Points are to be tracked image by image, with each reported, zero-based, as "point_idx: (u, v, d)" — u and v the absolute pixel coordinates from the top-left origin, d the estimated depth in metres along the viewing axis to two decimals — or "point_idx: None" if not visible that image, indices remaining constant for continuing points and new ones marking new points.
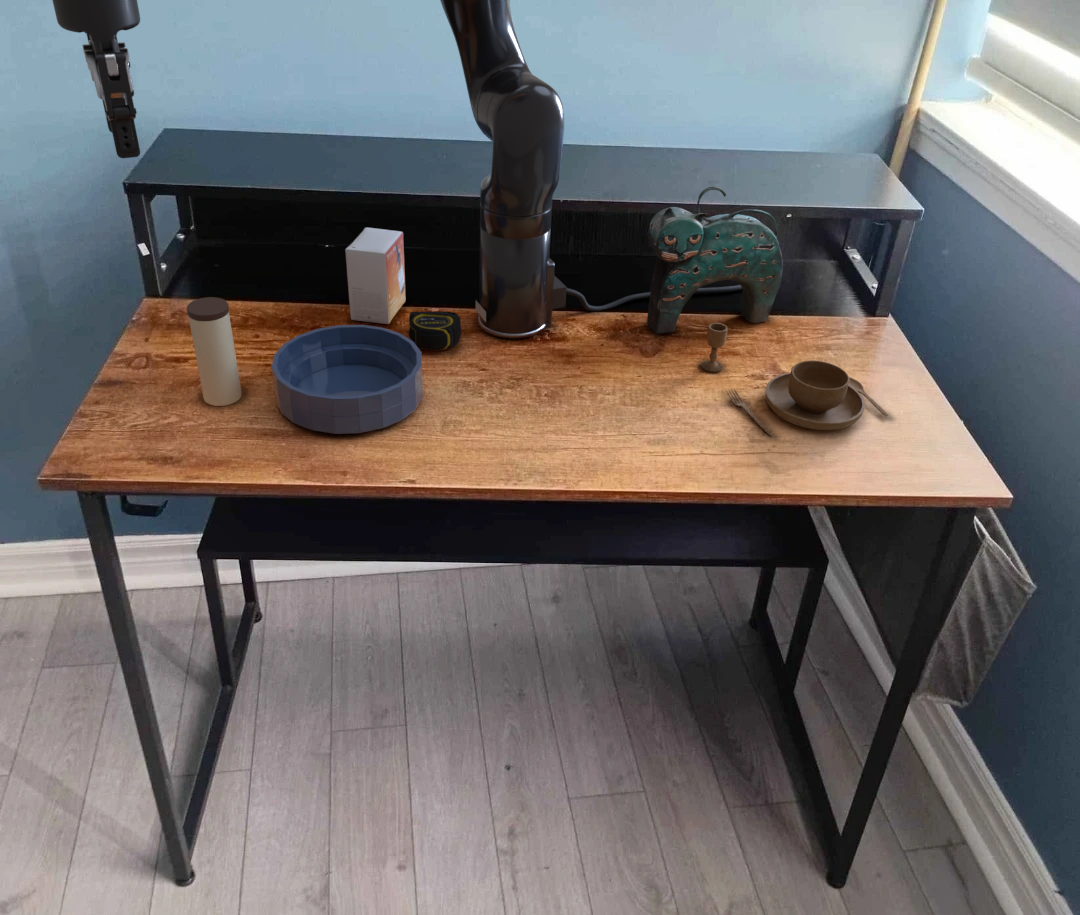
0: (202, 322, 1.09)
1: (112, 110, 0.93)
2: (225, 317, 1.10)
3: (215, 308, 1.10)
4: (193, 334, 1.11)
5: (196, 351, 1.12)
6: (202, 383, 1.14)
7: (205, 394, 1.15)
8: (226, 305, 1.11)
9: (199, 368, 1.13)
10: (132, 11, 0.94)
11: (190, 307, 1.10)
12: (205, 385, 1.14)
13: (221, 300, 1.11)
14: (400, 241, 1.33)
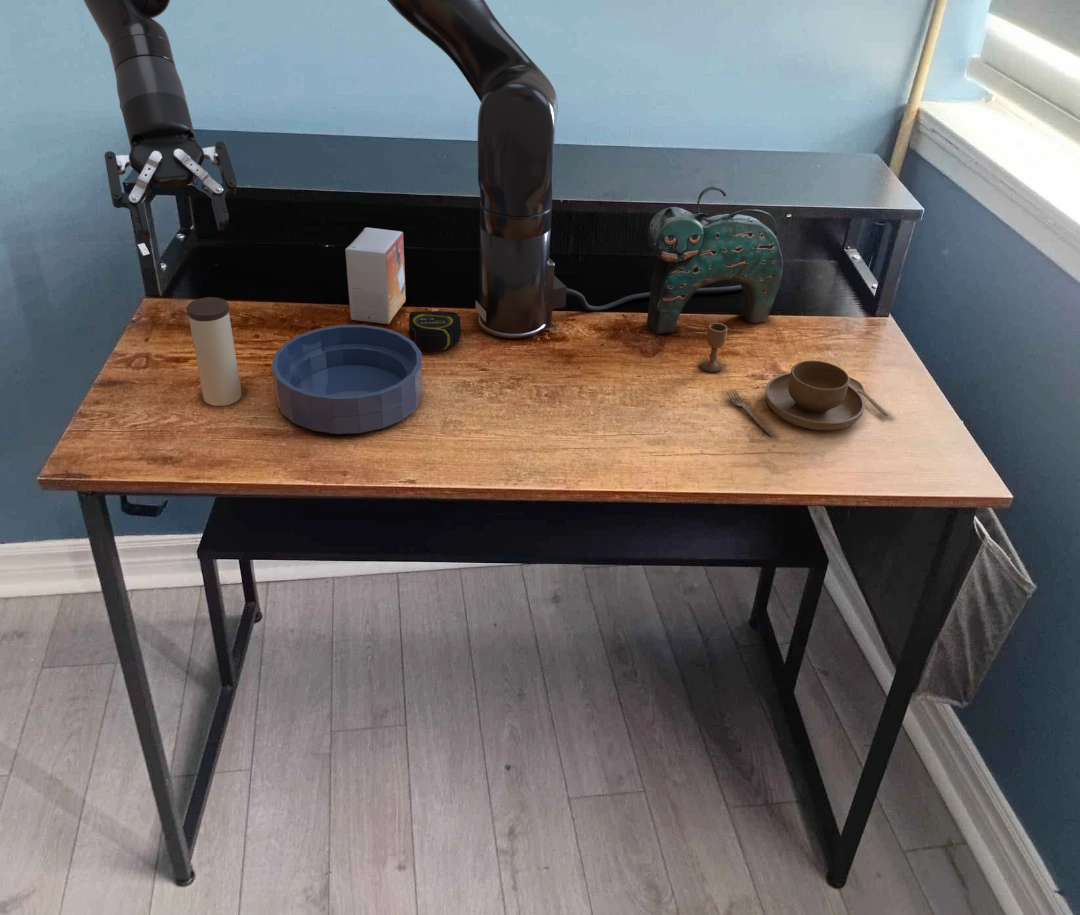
0: (202, 322, 1.09)
1: None
2: (225, 317, 1.10)
3: (215, 308, 1.10)
4: (193, 334, 1.11)
5: (196, 351, 1.12)
6: (202, 383, 1.14)
7: (205, 394, 1.15)
8: (226, 305, 1.11)
9: (199, 368, 1.13)
10: (139, 119, 1.14)
11: (190, 307, 1.10)
12: (205, 385, 1.14)
13: (221, 300, 1.11)
14: (400, 241, 1.33)
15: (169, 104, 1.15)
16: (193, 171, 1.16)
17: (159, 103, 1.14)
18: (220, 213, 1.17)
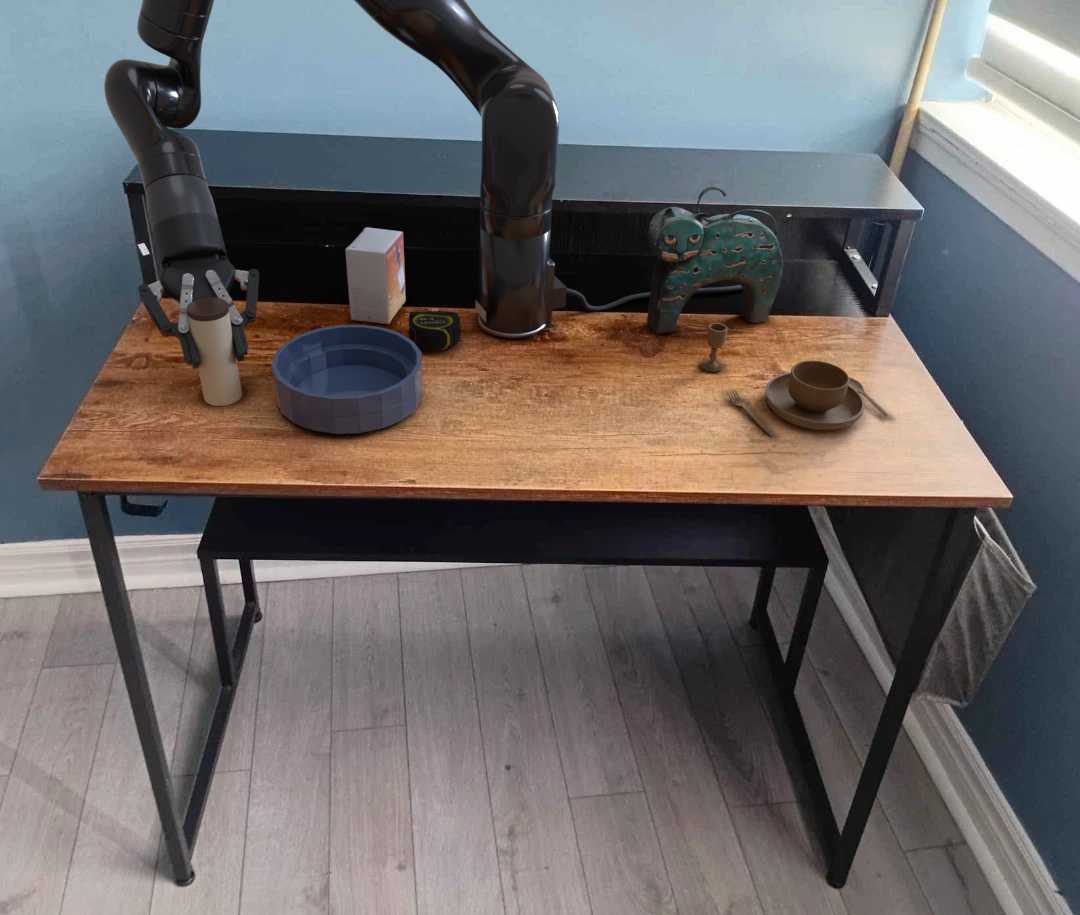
0: (202, 322, 1.09)
1: (160, 328, 1.12)
2: (225, 317, 1.10)
3: (215, 308, 1.10)
4: (193, 334, 1.11)
5: (197, 351, 1.12)
6: (202, 383, 1.14)
7: (205, 394, 1.15)
8: (226, 305, 1.10)
9: (199, 368, 1.13)
10: (171, 241, 1.10)
11: (190, 307, 1.10)
12: (205, 385, 1.14)
13: (221, 300, 1.11)
14: (400, 241, 1.33)
15: (201, 225, 1.11)
16: (218, 296, 1.12)
17: (191, 224, 1.11)
18: (239, 345, 1.13)
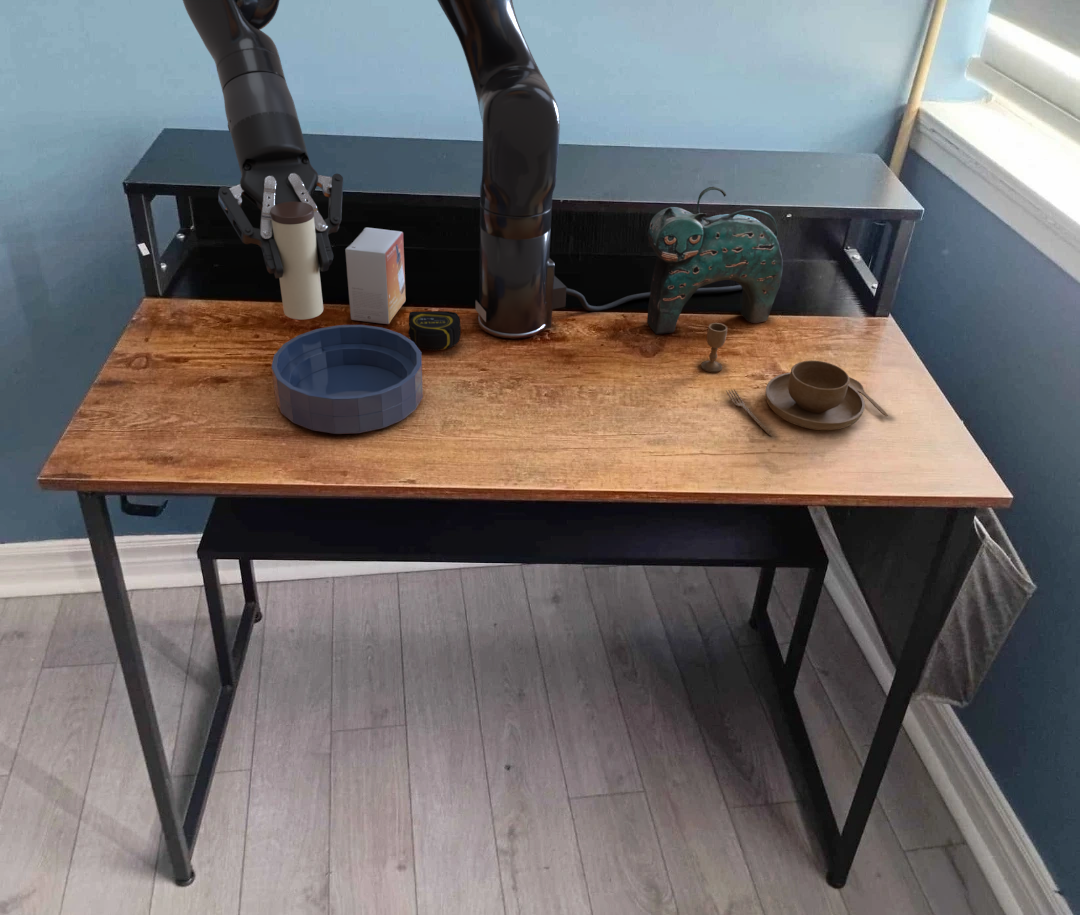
0: (287, 225, 1.03)
1: (241, 234, 1.06)
2: (310, 220, 1.04)
3: (300, 211, 1.03)
4: (277, 240, 1.04)
5: None
6: (284, 295, 1.08)
7: (286, 307, 1.09)
8: (311, 208, 1.04)
9: (281, 278, 1.07)
10: (252, 141, 1.04)
11: (274, 210, 1.03)
12: (287, 297, 1.08)
13: (305, 204, 1.05)
14: (400, 241, 1.33)
15: (284, 125, 1.05)
16: (302, 200, 1.06)
17: (273, 124, 1.04)
18: (324, 253, 1.06)
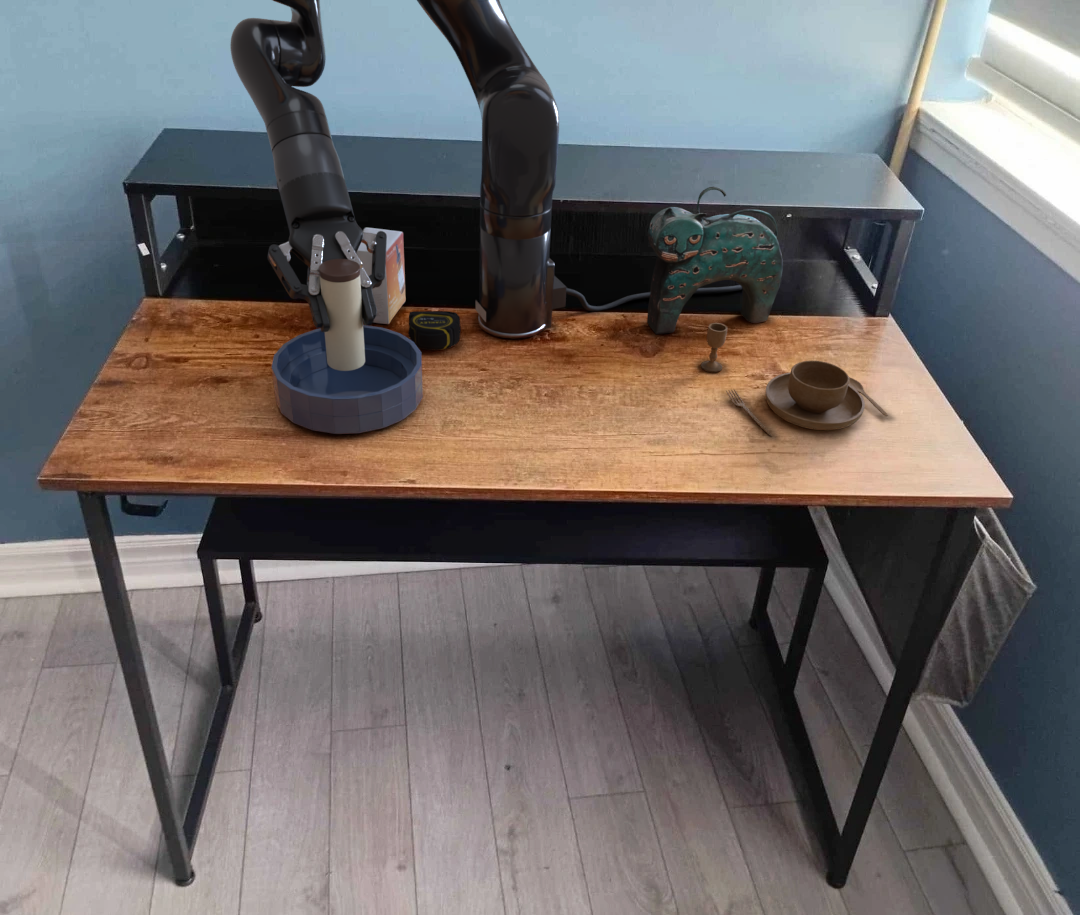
0: (335, 283, 1.07)
1: (289, 290, 1.09)
2: (357, 278, 1.08)
3: (348, 269, 1.07)
4: (324, 296, 1.08)
5: None
6: (328, 347, 1.12)
7: (331, 359, 1.13)
8: (358, 266, 1.08)
9: None
10: (302, 201, 1.08)
11: (322, 268, 1.07)
12: (332, 349, 1.12)
13: (352, 262, 1.09)
14: (400, 241, 1.33)
15: (332, 185, 1.09)
16: (348, 258, 1.10)
17: (322, 184, 1.08)
18: (369, 308, 1.10)
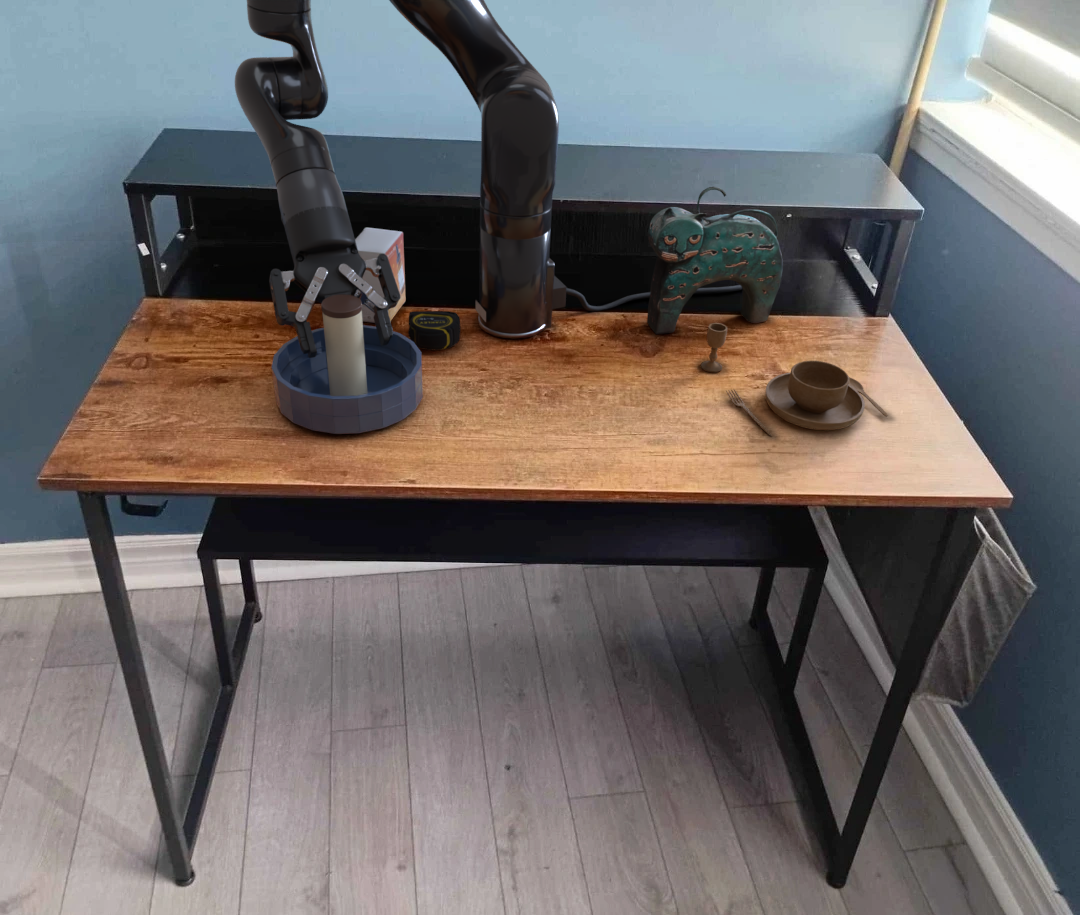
0: (337, 319, 1.09)
1: (276, 317, 1.11)
2: (359, 314, 1.10)
3: (350, 305, 1.10)
4: (327, 331, 1.11)
5: (329, 348, 1.12)
6: (331, 380, 1.15)
7: (333, 391, 1.15)
8: (360, 302, 1.11)
9: (330, 365, 1.14)
10: (306, 235, 1.10)
11: (325, 304, 1.10)
12: (334, 382, 1.14)
13: (354, 297, 1.12)
14: (400, 241, 1.33)
15: (335, 218, 1.11)
16: (358, 286, 1.13)
17: (325, 218, 1.11)
18: (385, 329, 1.13)
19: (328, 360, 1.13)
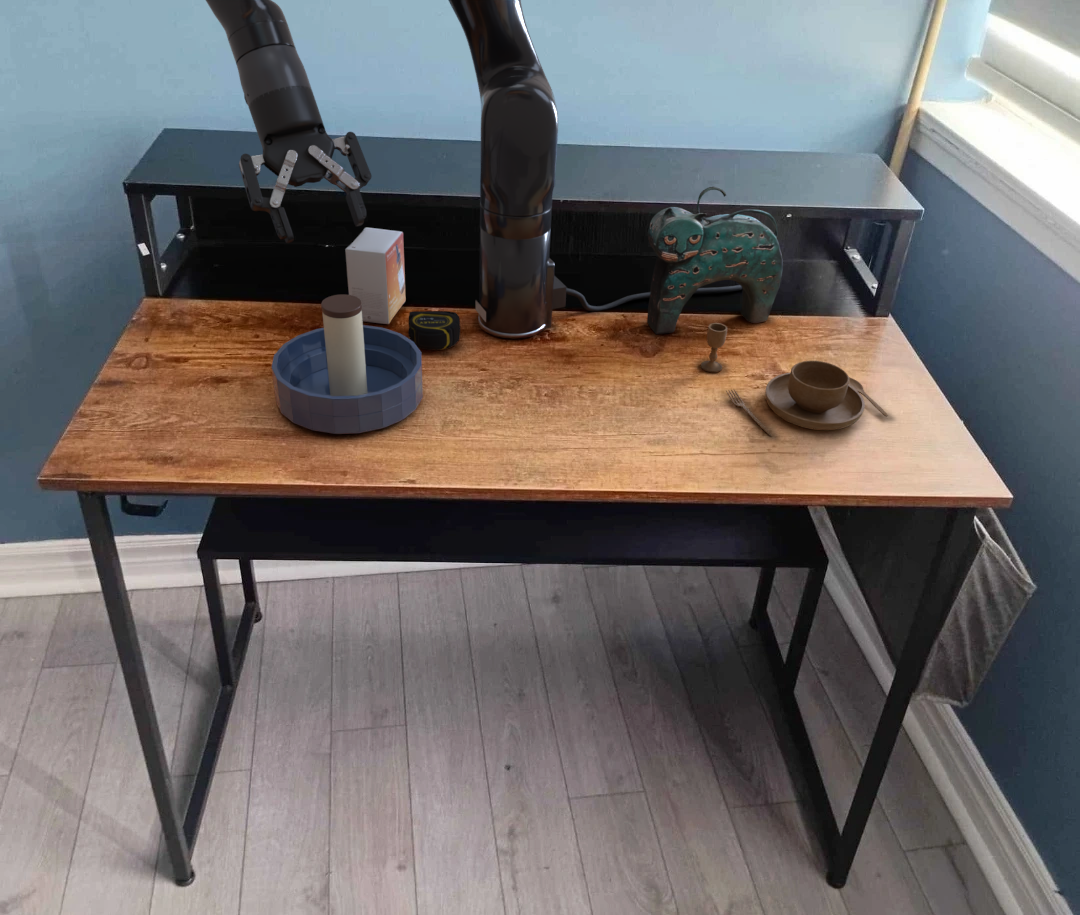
0: (337, 319, 1.09)
1: (250, 203, 1.12)
2: (359, 314, 1.10)
3: (350, 305, 1.10)
4: (327, 331, 1.11)
5: (329, 348, 1.12)
6: (331, 380, 1.15)
7: (333, 391, 1.15)
8: (360, 302, 1.11)
9: (330, 365, 1.14)
10: (273, 117, 1.10)
11: (325, 304, 1.10)
12: (334, 382, 1.14)
13: (354, 297, 1.12)
14: (400, 241, 1.33)
15: (301, 98, 1.10)
16: (329, 168, 1.13)
17: (291, 99, 1.10)
18: (359, 210, 1.15)
19: (328, 360, 1.13)
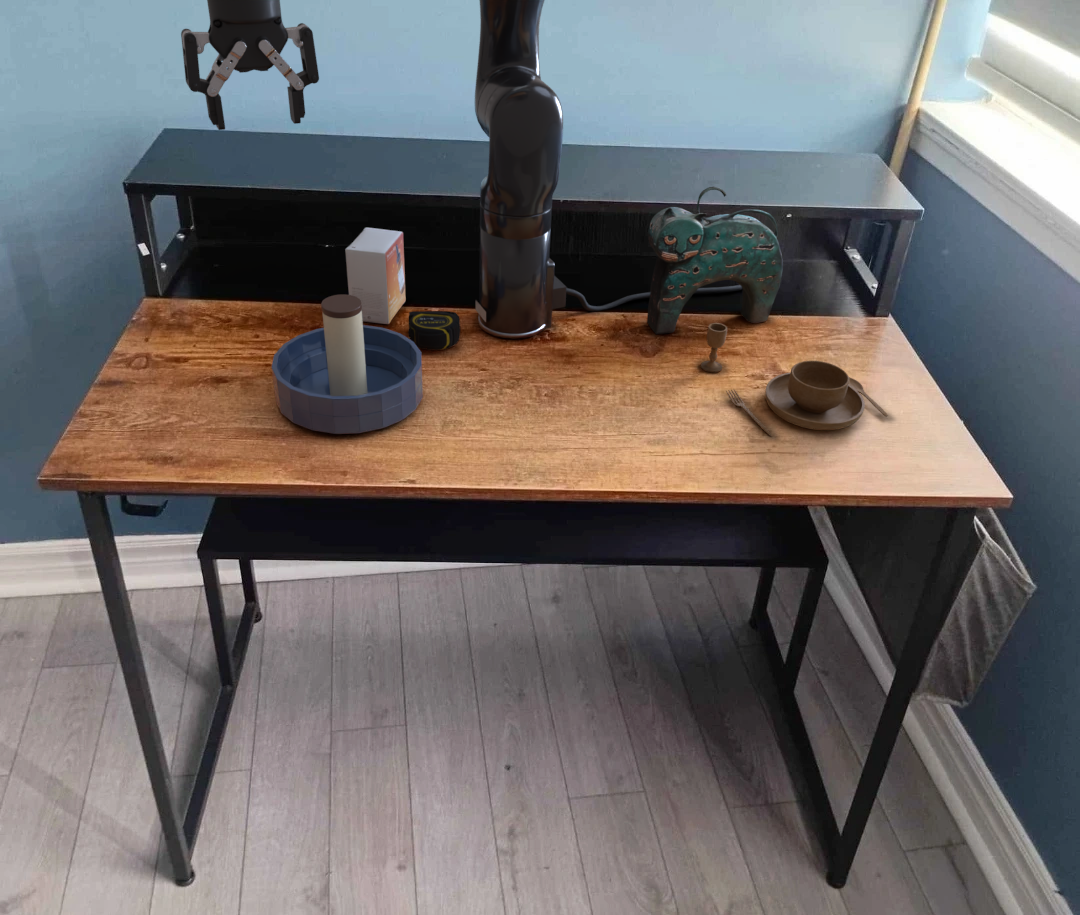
0: (337, 319, 1.09)
1: (186, 78, 1.07)
2: (359, 314, 1.10)
3: (350, 305, 1.10)
4: (327, 331, 1.11)
5: (329, 348, 1.12)
6: (331, 380, 1.15)
7: (333, 391, 1.15)
8: (360, 302, 1.11)
9: (330, 365, 1.14)
10: (228, 8, 1.02)
11: (325, 304, 1.10)
12: (334, 382, 1.14)
13: (354, 297, 1.12)
14: (400, 241, 1.33)
15: None
16: (276, 66, 1.08)
17: None
18: (297, 112, 1.12)
19: (328, 360, 1.13)
